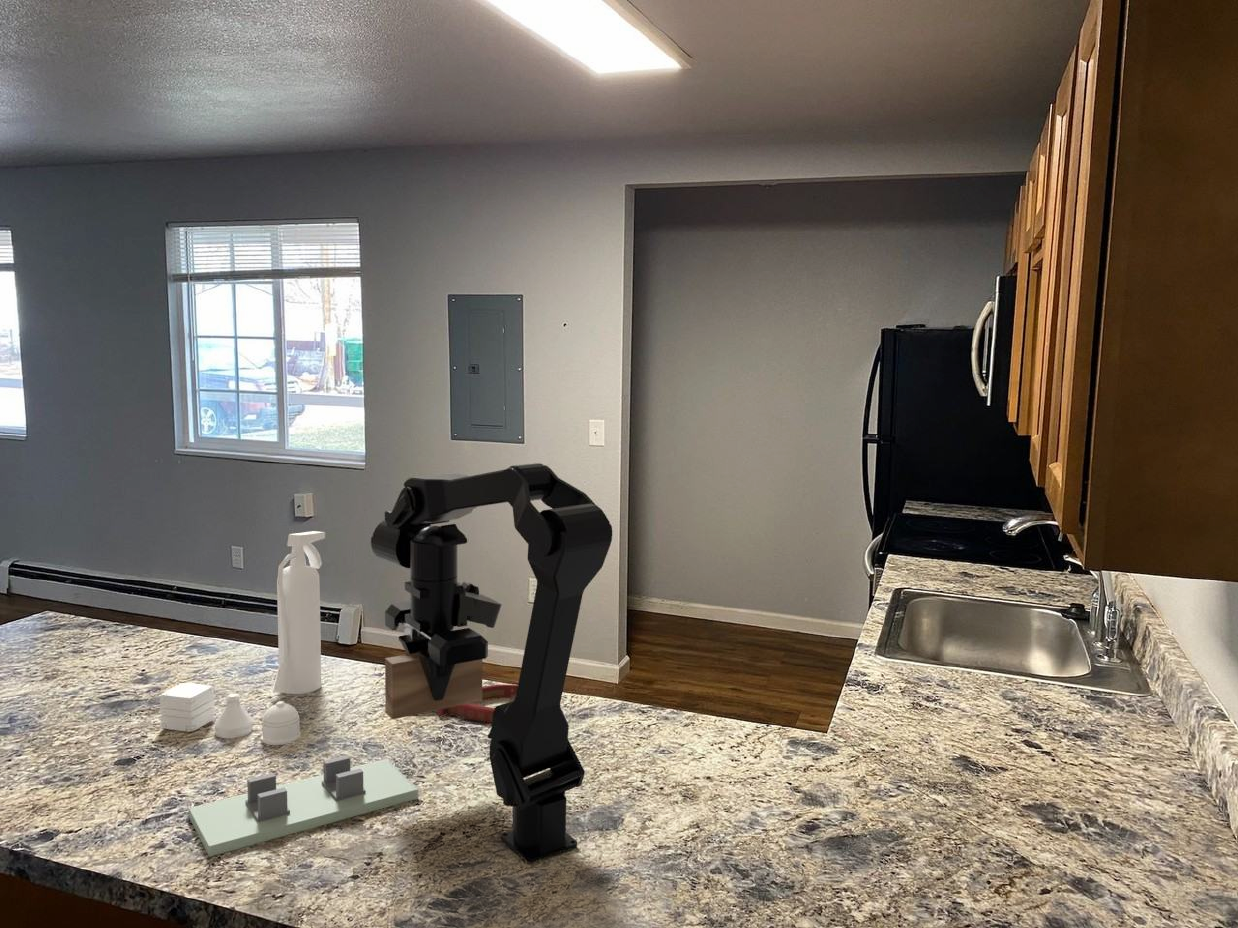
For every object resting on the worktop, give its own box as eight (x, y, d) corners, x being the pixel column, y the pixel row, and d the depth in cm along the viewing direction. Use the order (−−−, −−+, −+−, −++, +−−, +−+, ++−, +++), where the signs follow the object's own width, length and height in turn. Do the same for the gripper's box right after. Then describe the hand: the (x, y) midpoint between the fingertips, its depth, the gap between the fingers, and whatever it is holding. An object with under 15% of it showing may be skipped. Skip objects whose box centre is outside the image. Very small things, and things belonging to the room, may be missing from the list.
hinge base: (418, 798, 116) (417, 766, 116) (209, 856, 102) (208, 820, 102) (386, 767, 124) (386, 737, 124) (189, 817, 110) (187, 784, 110)
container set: (160, 731, 134) (159, 694, 134) (185, 717, 139) (184, 681, 139) (287, 748, 130) (286, 709, 129) (308, 733, 135) (307, 696, 134)
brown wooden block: (482, 700, 122) (482, 647, 121) (392, 719, 116) (392, 663, 115) (474, 694, 124) (474, 642, 123) (385, 712, 118) (385, 658, 117)
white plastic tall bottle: (251, 697, 146) (254, 537, 143) (301, 674, 157) (304, 526, 155) (288, 705, 144) (292, 542, 141) (336, 681, 155) (340, 530, 153)
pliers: (396, 697, 149) (396, 681, 149) (525, 697, 151) (525, 681, 150) (384, 728, 138) (383, 710, 138) (523, 727, 139) (523, 710, 139)
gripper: (527, 584, 115) (526, 708, 117) (461, 553, 130) (461, 663, 132) (441, 596, 108) (441, 727, 110) (383, 562, 124) (384, 677, 126)
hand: (434, 696), depth 120 cm, fingers closed on brown wooden block, 2 cm apart
